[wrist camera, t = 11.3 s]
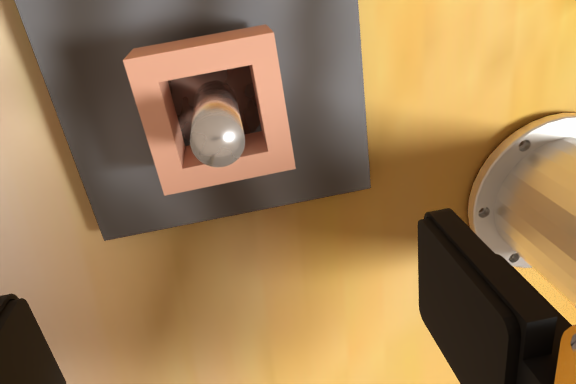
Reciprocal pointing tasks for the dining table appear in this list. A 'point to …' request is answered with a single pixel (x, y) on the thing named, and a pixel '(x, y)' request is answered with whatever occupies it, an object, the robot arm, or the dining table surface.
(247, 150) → the square ring block
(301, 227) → the dining table surface
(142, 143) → the base plate
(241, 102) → the metal post
